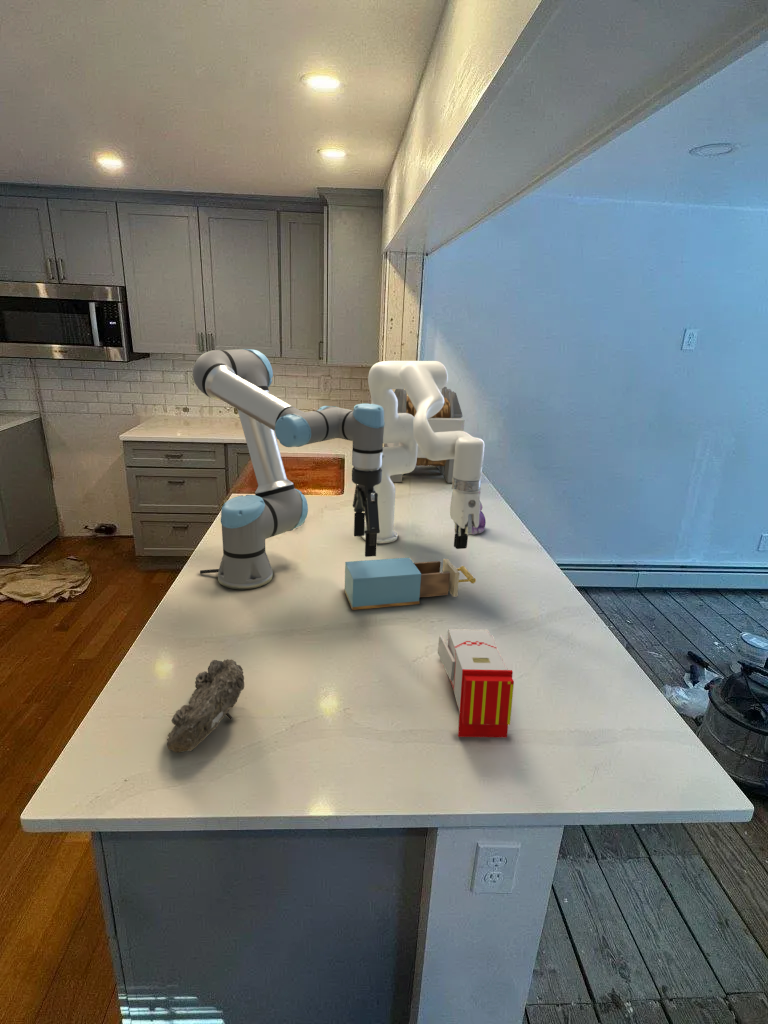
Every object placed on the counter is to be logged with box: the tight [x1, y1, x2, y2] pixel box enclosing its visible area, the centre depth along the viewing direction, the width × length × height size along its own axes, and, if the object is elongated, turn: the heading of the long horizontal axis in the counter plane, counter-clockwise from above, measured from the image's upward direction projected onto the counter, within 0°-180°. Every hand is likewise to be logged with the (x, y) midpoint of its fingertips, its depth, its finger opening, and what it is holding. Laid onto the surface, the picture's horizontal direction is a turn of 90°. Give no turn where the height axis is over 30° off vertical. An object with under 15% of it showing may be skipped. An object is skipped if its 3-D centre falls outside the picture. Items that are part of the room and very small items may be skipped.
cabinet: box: [344, 557, 421, 611], centre depth 154 cm, size 18×11×9 cm, turn 105°
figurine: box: [471, 490, 487, 535], centre depth 203 cm, size 9×10×15 cm
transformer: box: [383, 386, 465, 484], centre depth 268 cm, size 34×33×41 cm
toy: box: [437, 628, 515, 738], centre depth 117 cm, size 12×13×30 cm
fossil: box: [166, 658, 245, 754], centre depth 106 cm, size 22×10×15 cm
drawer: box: [413, 558, 477, 598], centre depth 158 cm, size 23×9×7 cm, turn 105°
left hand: (364, 545), depth 149 cm, fingers open, 13 cm apart
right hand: (460, 547), depth 156 cm, fingers closed
